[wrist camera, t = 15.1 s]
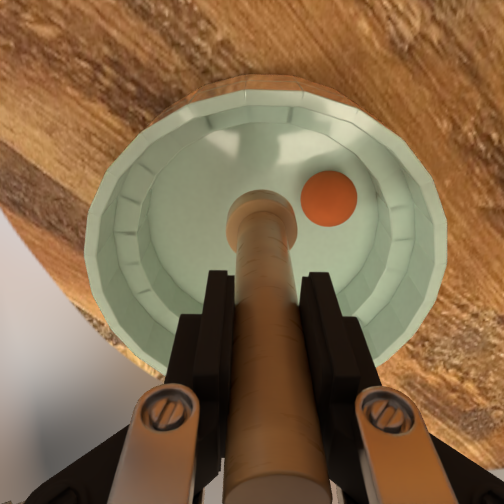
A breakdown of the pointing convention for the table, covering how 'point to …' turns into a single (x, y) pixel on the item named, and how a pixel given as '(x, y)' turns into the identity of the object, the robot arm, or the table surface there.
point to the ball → (328, 198)
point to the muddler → (270, 366)
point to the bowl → (268, 178)
